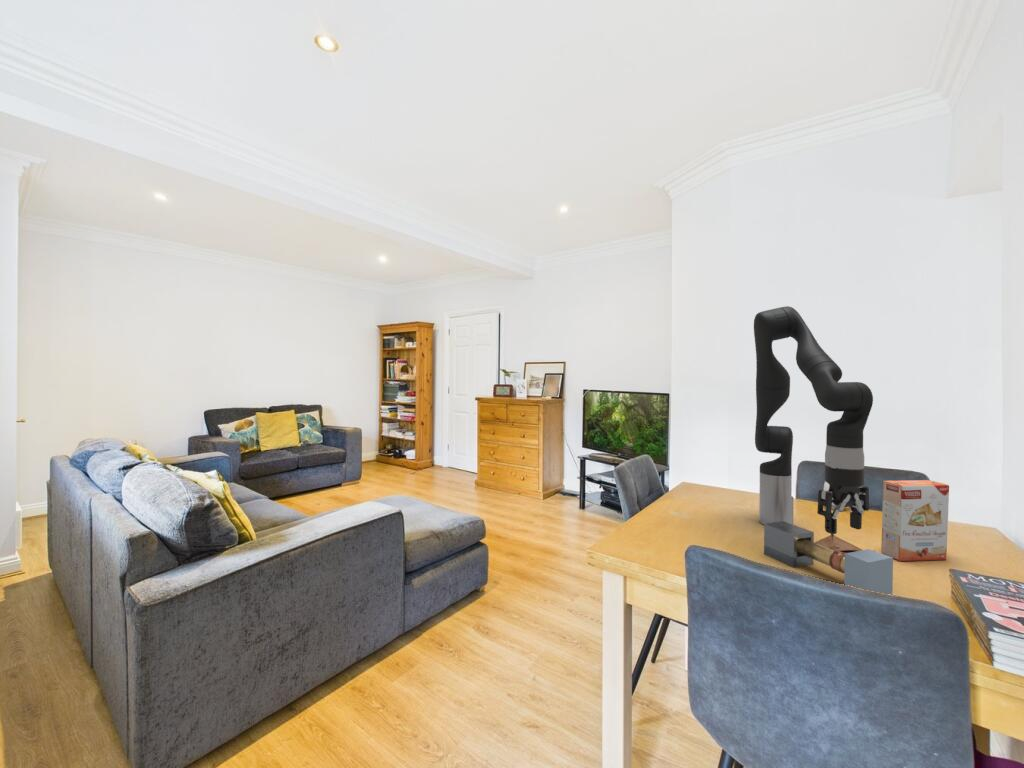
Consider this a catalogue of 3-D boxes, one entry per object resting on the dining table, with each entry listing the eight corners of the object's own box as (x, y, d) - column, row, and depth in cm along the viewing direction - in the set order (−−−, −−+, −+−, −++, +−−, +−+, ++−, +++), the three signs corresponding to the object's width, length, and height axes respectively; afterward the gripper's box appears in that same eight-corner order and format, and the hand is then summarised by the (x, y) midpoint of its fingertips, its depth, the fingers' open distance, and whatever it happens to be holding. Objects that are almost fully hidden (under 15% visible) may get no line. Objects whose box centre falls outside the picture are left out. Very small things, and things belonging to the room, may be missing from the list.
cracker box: (901, 562, 114) (902, 485, 114) (880, 553, 120) (881, 479, 120) (949, 560, 115) (950, 484, 115) (926, 551, 121) (927, 478, 121)
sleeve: (782, 550, 122) (783, 521, 122) (813, 563, 114) (813, 531, 114) (764, 553, 120) (764, 523, 120) (793, 567, 112) (794, 535, 112)
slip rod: (801, 550, 116) (801, 534, 116) (879, 583, 98) (880, 563, 98) (788, 553, 114) (788, 536, 114) (865, 586, 96) (866, 566, 96)
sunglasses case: (804, 543, 127) (816, 524, 127) (824, 555, 127) (836, 536, 127) (853, 571, 109) (867, 549, 109) (877, 585, 109) (890, 563, 109)
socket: (868, 586, 102) (868, 549, 101) (892, 596, 97) (893, 557, 97) (844, 591, 99) (844, 553, 99) (867, 602, 94) (868, 562, 94)
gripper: (848, 459, 109) (847, 521, 109) (807, 463, 104) (806, 529, 105) (881, 465, 102) (880, 532, 102) (839, 470, 97) (838, 540, 98)
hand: (843, 530), depth 104 cm, fingers open, 8 cm apart
